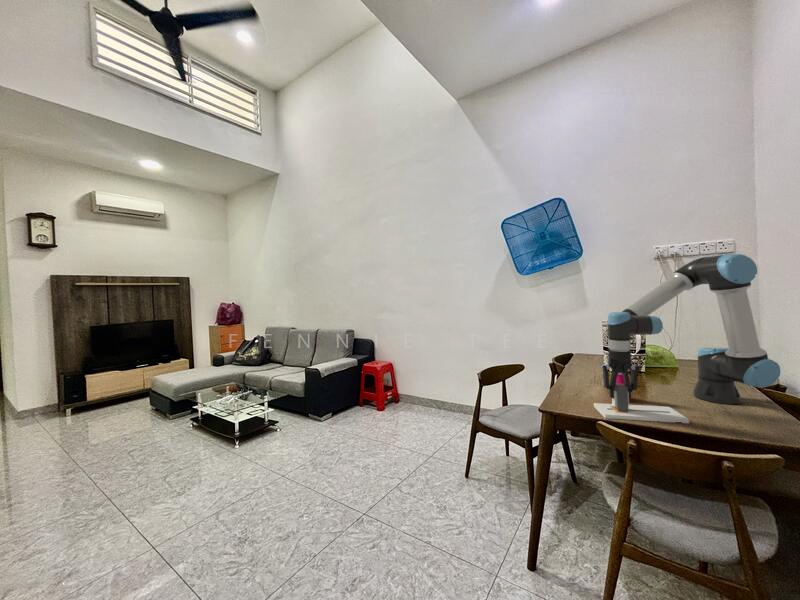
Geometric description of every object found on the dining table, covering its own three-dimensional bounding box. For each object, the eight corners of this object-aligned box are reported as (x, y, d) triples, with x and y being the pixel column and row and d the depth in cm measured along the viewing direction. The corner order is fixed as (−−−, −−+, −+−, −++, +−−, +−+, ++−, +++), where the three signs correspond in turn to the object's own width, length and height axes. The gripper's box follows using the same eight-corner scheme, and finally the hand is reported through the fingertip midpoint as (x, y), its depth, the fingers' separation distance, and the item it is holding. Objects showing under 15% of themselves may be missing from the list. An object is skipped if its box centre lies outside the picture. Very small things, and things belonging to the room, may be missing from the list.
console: (669, 410, 131) (669, 406, 131) (689, 423, 118) (689, 419, 118) (593, 406, 138) (593, 402, 138) (605, 418, 125) (605, 414, 125)
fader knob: (622, 407, 131) (622, 383, 131) (628, 411, 127) (627, 387, 126) (613, 406, 132) (612, 383, 132) (618, 411, 127) (617, 386, 127)
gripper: (638, 348, 130) (639, 403, 131) (593, 347, 134) (594, 401, 135) (647, 351, 123) (648, 410, 124) (600, 351, 127) (601, 408, 128)
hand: (620, 405), depth 129 cm, fingers closed on fader knob, 3 cm apart
